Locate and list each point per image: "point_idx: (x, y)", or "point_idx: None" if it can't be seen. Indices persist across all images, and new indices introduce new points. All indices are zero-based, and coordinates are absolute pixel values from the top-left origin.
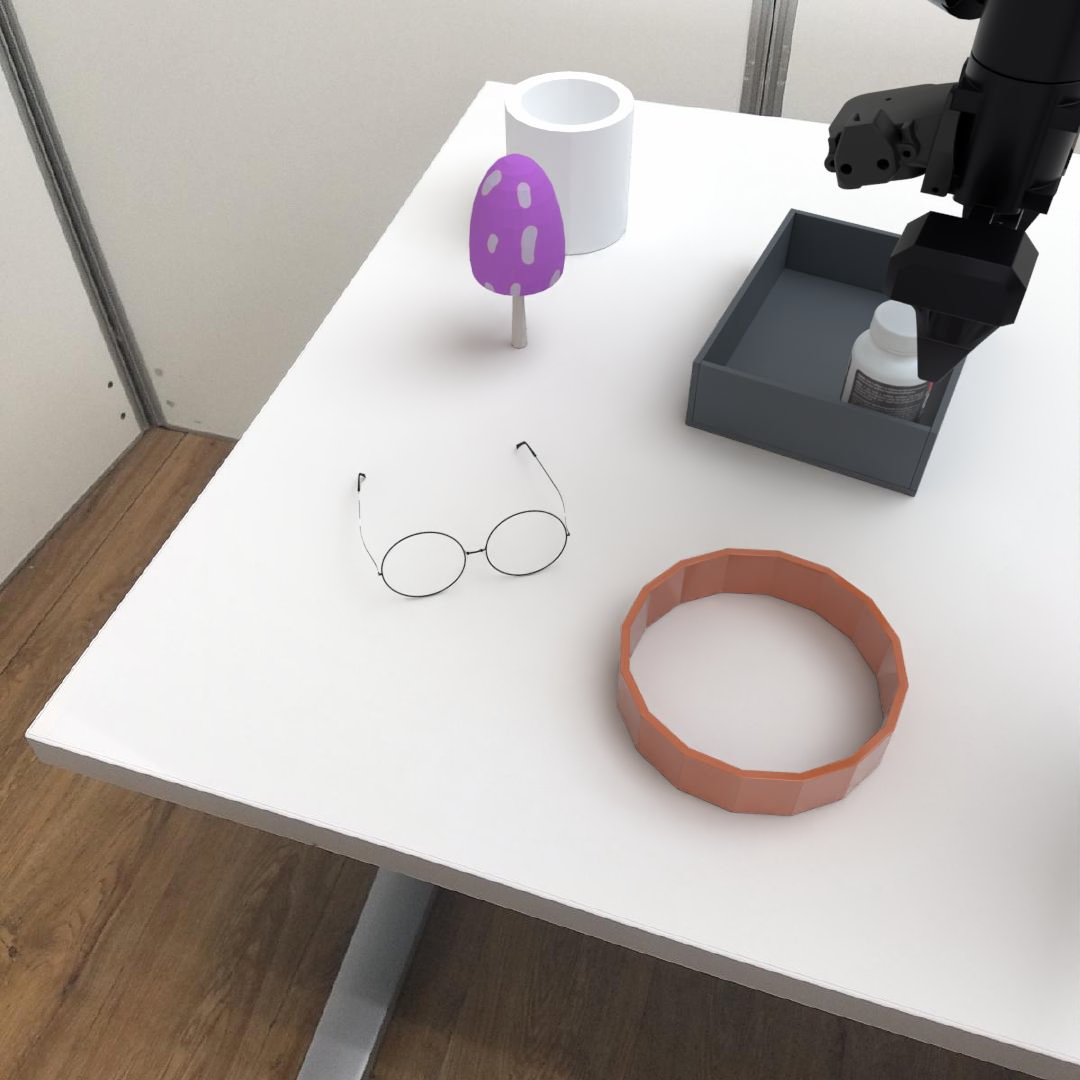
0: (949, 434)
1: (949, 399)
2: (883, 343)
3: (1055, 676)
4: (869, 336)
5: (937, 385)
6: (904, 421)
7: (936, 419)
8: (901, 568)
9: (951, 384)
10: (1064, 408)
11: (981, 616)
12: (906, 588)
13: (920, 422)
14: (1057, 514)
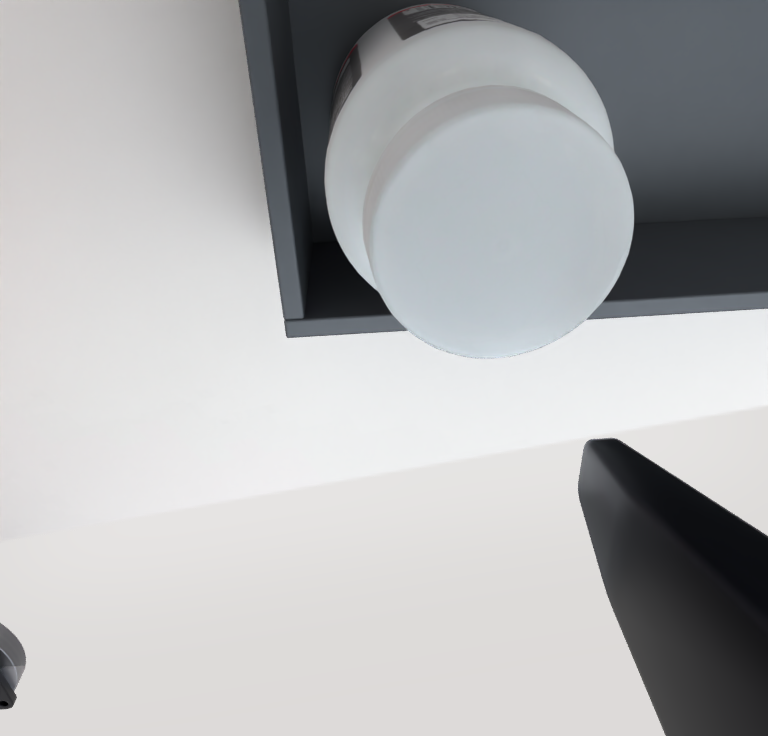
0: None
1: None
2: (370, 180)
3: (66, 513)
4: (477, 85)
5: (667, 199)
6: (288, 256)
7: (341, 321)
8: (102, 284)
9: None
10: (672, 412)
11: (96, 416)
12: (63, 305)
13: None
14: (389, 455)
